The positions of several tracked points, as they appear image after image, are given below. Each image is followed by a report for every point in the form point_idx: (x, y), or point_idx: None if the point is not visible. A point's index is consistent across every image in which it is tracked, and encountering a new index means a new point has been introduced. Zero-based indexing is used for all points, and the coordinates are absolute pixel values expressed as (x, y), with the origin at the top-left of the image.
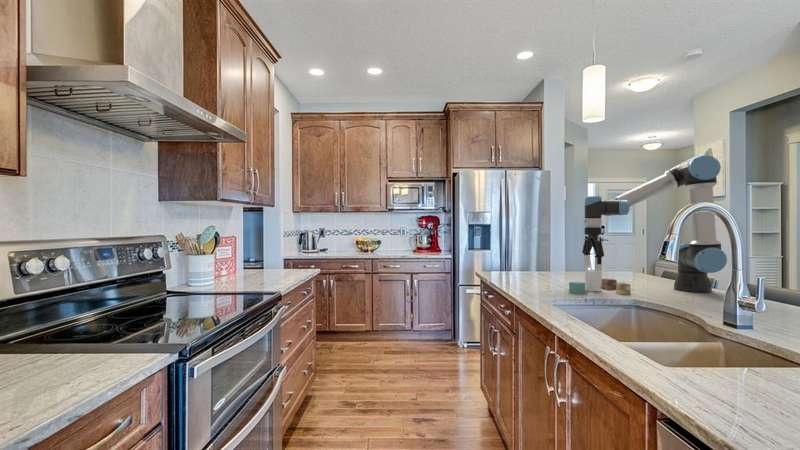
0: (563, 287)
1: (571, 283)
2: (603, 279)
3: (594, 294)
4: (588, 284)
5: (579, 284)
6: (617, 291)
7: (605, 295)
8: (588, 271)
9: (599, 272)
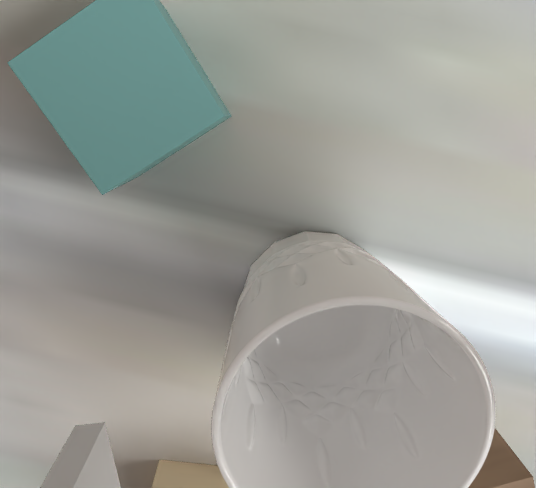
0: (508, 14)
1: (103, 3)
2: (486, 486)
3: (72, 248)
4: (267, 262)
5: (42, 103)
6: (207, 475)
7: (42, 333)
8: (258, 333)
9: (230, 479)
